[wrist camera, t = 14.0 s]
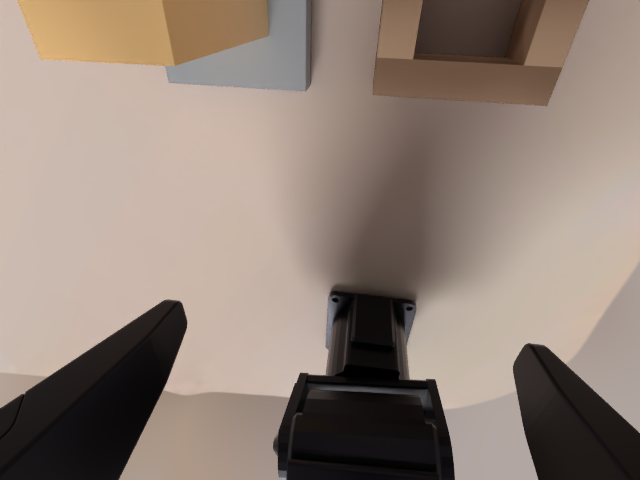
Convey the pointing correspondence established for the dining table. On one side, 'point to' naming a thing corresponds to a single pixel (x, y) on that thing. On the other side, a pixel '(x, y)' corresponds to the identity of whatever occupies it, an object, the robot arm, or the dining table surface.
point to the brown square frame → (477, 57)
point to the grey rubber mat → (260, 55)
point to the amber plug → (142, 29)
